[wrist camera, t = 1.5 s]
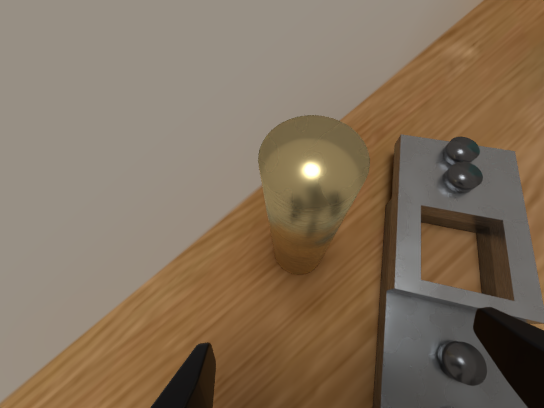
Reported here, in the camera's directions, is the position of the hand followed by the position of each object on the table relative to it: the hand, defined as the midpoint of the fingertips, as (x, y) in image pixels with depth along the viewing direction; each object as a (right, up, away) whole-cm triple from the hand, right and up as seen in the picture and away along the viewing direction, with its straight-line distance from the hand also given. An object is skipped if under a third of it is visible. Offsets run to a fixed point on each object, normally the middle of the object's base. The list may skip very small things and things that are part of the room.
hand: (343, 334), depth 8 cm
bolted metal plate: (+12, -2, +12) cm, 17 cm away
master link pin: (0, 0, +14) cm, 14 cm away
